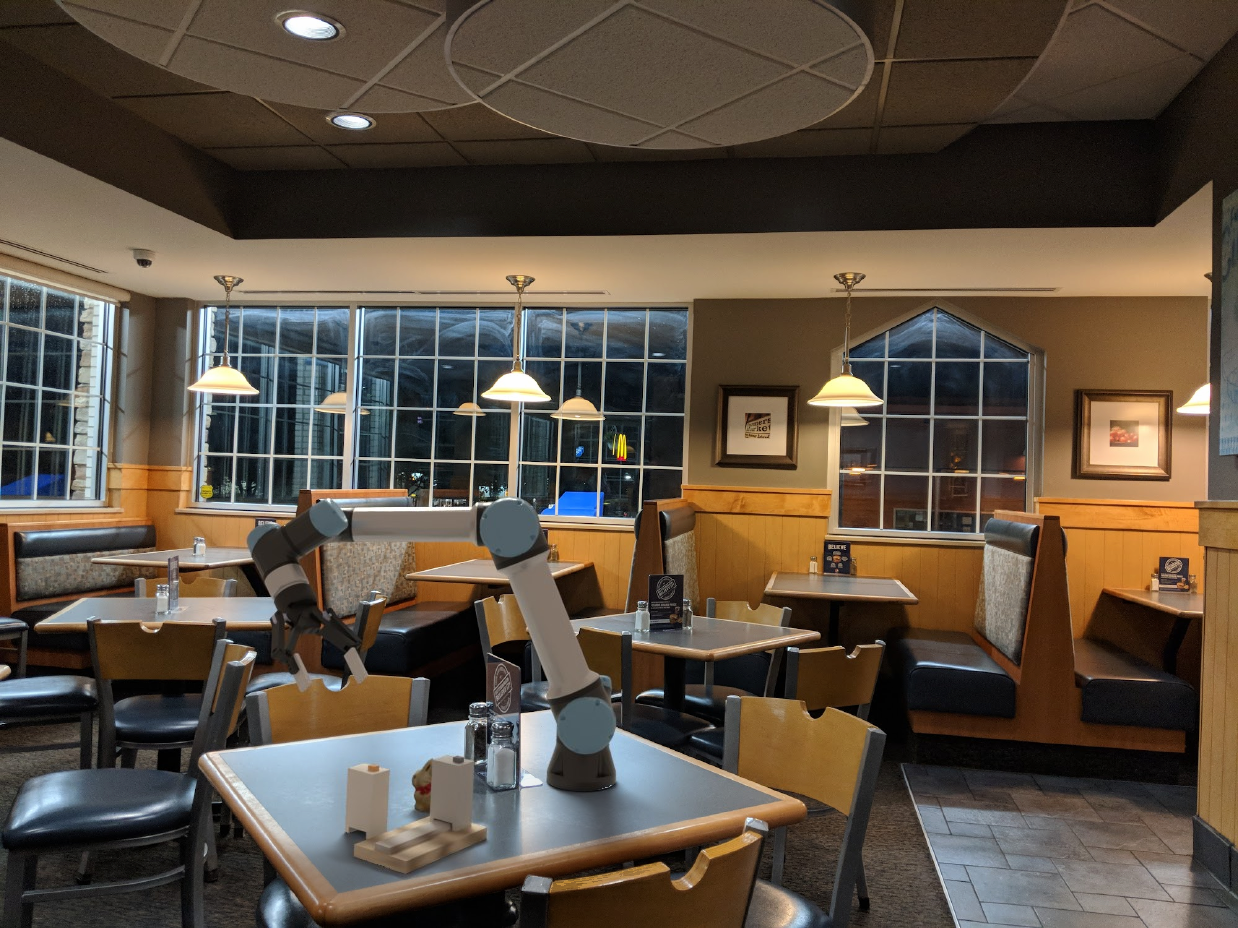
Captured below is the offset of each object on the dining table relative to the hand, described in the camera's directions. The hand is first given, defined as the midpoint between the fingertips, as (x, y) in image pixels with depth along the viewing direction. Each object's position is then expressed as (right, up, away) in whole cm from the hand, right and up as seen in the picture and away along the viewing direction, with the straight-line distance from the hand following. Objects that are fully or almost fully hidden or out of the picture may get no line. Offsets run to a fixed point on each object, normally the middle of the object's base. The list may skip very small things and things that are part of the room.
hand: (335, 683), depth 175 cm
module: (+8, -25, -8) cm, 27 cm away
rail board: (+19, -25, -14) cm, 34 cm away
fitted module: (+23, -24, -8) cm, 34 cm away
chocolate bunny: (+17, -26, +6) cm, 32 cm away
